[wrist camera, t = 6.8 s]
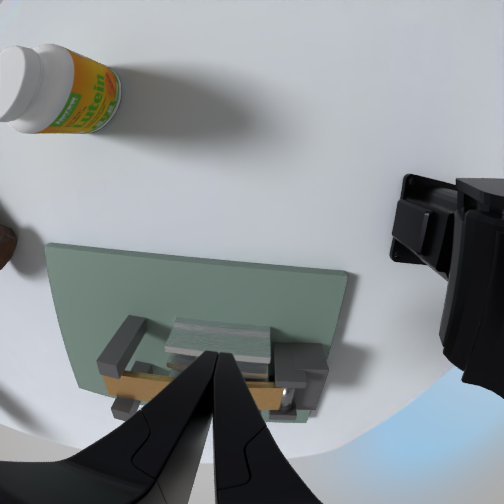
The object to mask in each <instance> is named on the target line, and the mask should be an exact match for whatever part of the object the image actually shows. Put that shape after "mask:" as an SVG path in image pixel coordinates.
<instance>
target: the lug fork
mask: <svg viewBox="0 0 504 504" xmlns="http://www.w3.org/2000/svg"><path fill="white" fill-rule="evenodd" d="M146 331H147V324H146V318H145V317H139V316H133V315H128V316H127V318H126V319H125V321H124V322H123V323H122V325H121V326H120V328H119V329H118V330H117V332H116V333H115V334H114V336H113V337H112V339H111V340H110V342H109V343H108V344H107V346H106V347H105V349H104V350H103V352H102V353H101V354H100V356H99V357H98V359H97V360H96V362H97V366H98V370H99V373H100V375H104V376H108V377H112V378H116V379H120V378H121V376H122V374H123V372H124V370H125V368H126V367H127V365H128V363H129V361H130V360H131V358H132V356H133V354H134V352H135V351H136V349H137V347H138V345H139V344H140V342H141V340H142V338H143V337H144V335H145V333H146ZM130 371H133V372H140V373H147V374H153V370H152V364H150V363H145V362H140V361H135V363H134V365H133V367H132V369H131V370H130ZM140 403H141V401H140V400H134V399H128V398H123V397H116V399H115V401H114V403H113V405H112V407H111V410H112V413H113V416H114V418H116V419H119V420H123V421H127V420H128V419H129V418H130V417H132V416H133V415H134V414H135V413H136V412H137V410H138V407H139V405H140Z"/></svg>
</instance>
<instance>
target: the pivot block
mask: <svg viewBox="0 0 504 504" xmlns="http://www.w3.org/2000/svg"><path fill="white" fill-rule="evenodd" d="M274 369H275V376H269V378H268V382H275V387H279V388H296V389H295V393H294V397H293V400H292V404H291V408H290V411H289V412H288V413H280V412H278V411H277V410H269V420H296V417H297V411H296V410H316V407H317V404H318V401H319V398H320V396H321V393H322V390H323V387H324V384H325V381H326V377H327V374H328V371H329V368H328V365H327V361H326V357H325V354H324V350H323V346H322V343H301V342H291V343H283V342H274Z"/></svg>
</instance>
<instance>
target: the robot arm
mask: <svg viewBox="0 0 504 504" xmlns="http://www.w3.org/2000/svg"><path fill="white" fill-rule="evenodd" d="M410 178H411V179H412V182H411V184H409V179H410ZM392 235H393V240H392V245H391V249H390V258H391V259H392V260H393V261H394V262H401V263H411V264H422V265H428V266H429V267H430V268H432V269H433V270H434V271H435V272H437V273H438V274H439V275H440V276H442V277H443V278H444V279H445V280H446V281H448V286H447V292H446V298H445V304H444V309H443V315H442V319H441V324H440V331H439V336H440V339H441V342H442V345H443V347H444V349H443V354H444V355H445V356H446V357H447V359H448V360H449V361H450V362H451V363H452V364H454V365H455V366H456V367H458V368H459V369H460V370H462V371H464V373H463V376H462V379H461V380H462V382H464V383H468V384H473V385H478V386H481V387H483V388H486V389H488V390H491V391H493V392H494V393H496V394H497V395H499V396H501V397H502V398H503V399H504V179H496V178H456V185H453V184H450V183H446V182H442V181H438V180H434V179H430V178H426V177H422V176H418V175H414V174H406V175H405V176H404V178H403V184H402V191H401V197H400V200H399V201H398V203H397V209H396V215H395V220H394V226H393V231H392ZM397 252H398V256H397V257H395V254H396V253H397ZM212 415H213V458H214V484H215V504H323V503H322V502H321V501H320V500H319V499H318V498H317V497H316V496H315V495H314V494H313V493H312V492H311V490H310V489H309V488H308V487H307V485H306V484H305V483H304V482H303V481H302V479H301V478H300V477H299V475H298V474H297V473H296V471H295V470H294V469H293V468H292V467H291V465H290V464H289V462H288V461H287V459H286V458H285V456H284V455H283V454H282V452H281V451H280V449H279V447H278V446H277V444H276V442H275V440H274V439H273V437H272V435H271V433H270V431H269V429H268V428H267V425H266V423H265V421H264V419H263V417H262V415H261V413H260V411H259V409H258V407H257V405H256V403H255V401H254V399H253V397H252V394H251V392H250V390H249V388H248V386H247V384H246V382H245V380H244V377H243V375H242V373H241V371H240V369H239V367H238V364H237V362H236V360H235V358H234V356H233V354H232V353H226V352H220V353H218V352H217V351H209V350H206V351H204V352H203V353H202V354H201V355H200V356H199V357H198V358H197V359H195V360H194V361H193V362H192V363H191V364H190V365H189V366H188V367H187V368H186V369H185V370H183V371H182V372H181V373H180V374H179V375H178V376H177V377H176V378H175V379H174V380H172V381H171V382H170V383H169V384H168V385H167V386H166V387H165V388H164V389H162V390H161V391H160V392H159V393H158V394H157V395H156V396H155V397H154V398H152V399H151V400H150V401H149V402H148V403H147V404H146V405H144V406H143V407H142V408H141V410H139V411H137V412H136V413H135V414H134V415H133V416H132V417H130V418H129V419H128V420H127V421H125V422H124V423H123V424H122V425H120V426H119V427H118V428H116V429H115V430H113V431H112V432H110V433H109V434H107V435H106V436H104V437H103V438H101V439H100V440H98V441H96V442H95V443H93V444H92V445H90V446H88V447H87V448H85V449H83V450H82V451H80V452H79V453H77V454H75V455H73V456H71V457H69V458H67V459H64V460H61V461H55V462H12V461H0V504H188V501H189V497H190V494H191V490H192V487H193V484H194V480H195V477H196V473H197V470H198V466H199V463H200V459H201V456H202V452H203V449H204V445H205V442H206V438H207V435H208V431H209V428H210V424H211V420H212Z"/></svg>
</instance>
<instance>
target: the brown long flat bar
mask: <svg viewBox="0 0 504 504" xmlns="http://www.w3.org/2000/svg"><path fill="white" fill-rule="evenodd" d="M103 378H104V382H105V385H106V388H107V391H108V395H112V396H117V397H123V398H128V399H134V400H140V401H147V402H149V401H150V400H151V399H152V398H154V397H155V396H156V395H157V394H158V393H159V392H160V391H161V390H162V389H164V388H165V387H166V386H167V385H168V384H169V383H170V382H171V381H172V380H174V379H175V378H176V377H171V376H162V375H154V374H147V373H140V372H133V371H127V370H124V372H123V374H122V376H121V378H120V379H116V378H112V377H108V376H104V375H103ZM246 384H247V386H248V388H249V390H250V392H251V394H252V397H253V399H254V401H255V403H256V405H257V407H258V409H259V410H277V411H278V412H280V413H288V412H289V411H290V408H291V404H292V400H293V397H294V393H295V389H296V388H279V387H275V382H246Z"/></svg>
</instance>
